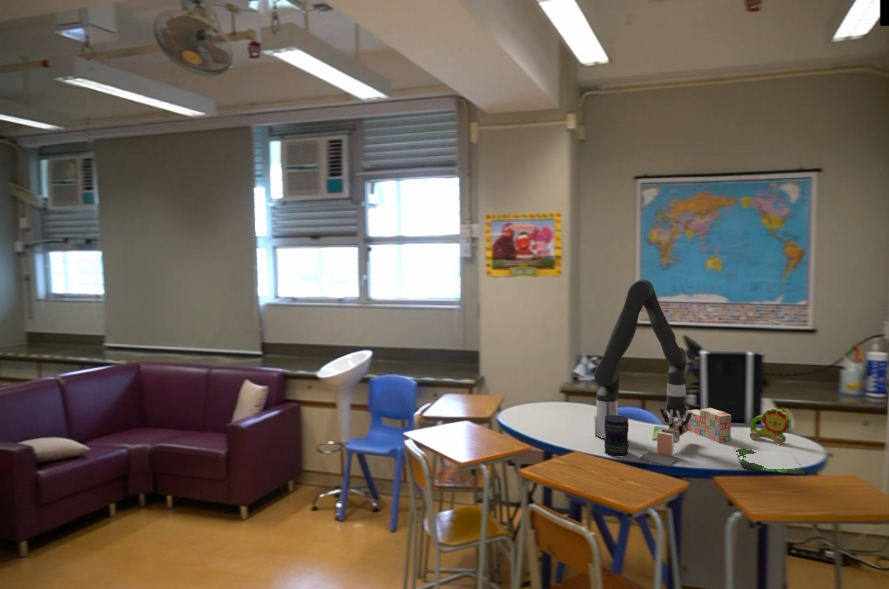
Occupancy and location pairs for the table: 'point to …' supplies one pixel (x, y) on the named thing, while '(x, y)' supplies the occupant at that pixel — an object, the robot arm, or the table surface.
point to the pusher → (676, 431)
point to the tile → (665, 443)
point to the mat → (658, 459)
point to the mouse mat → (760, 468)
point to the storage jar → (616, 435)
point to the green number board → (658, 429)
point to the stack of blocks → (711, 424)
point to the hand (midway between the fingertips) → (676, 432)
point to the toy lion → (772, 426)
